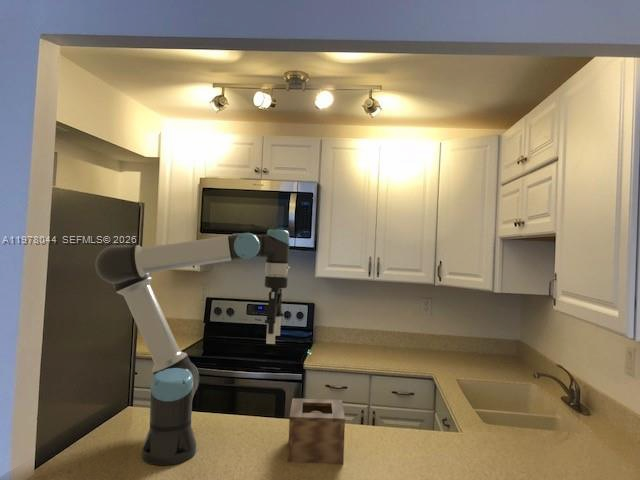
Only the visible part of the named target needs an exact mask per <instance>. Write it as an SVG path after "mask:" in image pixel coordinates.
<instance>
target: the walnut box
mask: <svg viewBox="0 0 640 480" xmlns="http://www.w3.org/2000/svg"><path fill="white" fill-rule="evenodd" d="M343 403H344V402H343V399H329V398H326V399H325V398H323V399H322V398H297V397H296V398H292V400H291V406H290V411H289V422H288V424H289V425H288V447H287V448H288V449H287V451H288V453H287V463H297V464H299V463H300V464H302V463H303V464H304V463H305V464H329V465H330V464H331V465H332V464H333V465H344V462H345V461H344V460H345V459H344V456H345V455H344V454H345V453H344V452H345V431H346V430H345V427H346V418H345V410H344V406H343ZM312 411H320V412H322V413H323V414H322V413H310V412H312Z"/></svg>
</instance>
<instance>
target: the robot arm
mask: <svg viewBox="0 0 640 480" xmlns="http://www.w3.org/2000/svg"><path fill="white" fill-rule="evenodd" d="M289 257H290V233H289V231H288V230H285V229H271V228H270V229H268V230H267V231H266V234H254V233H251V232H243V233H232V234H231V235H225V236H218V237H209V238H203V239H196V240H195V239H194V240H188V241H183V242H182V241H181V242H173V243H168V244H167V243H166V244H161V245H160V244H159V245H154V246H147V247H142V246H141V245H139V244H135V245H131V244H120V245H119V244H116V245H115V244H114V245H110V246H108V247H105V248H104V249H102V250H101V251H100V252H99V253H98V255H97V256H96V259H95V270H96V273H97V275H98V276H99V277H100V278H101V280H103V281H105V282H106V283H109V284H112V286H113V288H114V290H115V292H116V293H117V294H118V295H121V296H123V298H124V299H125V302H126V305H127V306H128V308H129V311H130V313H131V315H132V317H133V319H134V322H135V324H136V327H137V328H138V331H139V333H140V335H141V337H142V339H143V342H144V344H145V345H146V348H147V350H148V353H149V355H150V357H151V359H152V362H153V366H152V368H151V372H152V374H153V376H152V380H151V383H150V407H149V409H150V410H149V417H150V418H149V430H148V432H147V434H146V438H145V440H144V443H143V444H142V445H143V446H142V449H141V450H142V451H141V458H142V460H143V461H144V462H146V463H148V464H149V465H150V464H151V465H153V466H171V465H177V464H180V463H181V464H182V463H185V462H186V461H188V460H190V459H191V458H193V457H194V456H195V455H196V454H197V441H196V438H195V437H196V436H195V434H194V431H193V430H194V429H193V426H192V412H193V410H192V409H193V398H194V395H195V394H196V391H197V390H198V387H199V385H200V384H199V383H200V375H199V373H200V372H199V371H198V368H197V367H196V366H195V364H193V362H191V360H190V358H189V356H188V354H187V352H184V351H181V350H180V348H179V346H178V343H177V341H176V339H175V336H174V334H173V333H172V330H171V327H170V325H169V324H168V320H167V319H166V317H165V315H164V312H163V310H162V308H161V306H160V304H159V301H158V299H157V296H156V295H155V292H154V291H153V290H154V289H153V288H152V286H151V282H152V281H153V276H152V273H157V272H164V271H169V270H178V269H183V268H189V267H196V266H202V265H210V264H217V263H222V262H223V263H224V262H229V261H238V260H247V259H253V258H265V267H264V269H265V270H264V274H265V277H264V287H265V288H267V289H269V288H270V289H271V290H270V291H269V293H268V304H267V314H266V319H265V320H264V324H266V337H265V338H266V339H265V341H266V342H265V344H267V345H276V336H278V337H279V336H281V323H282V321H281V320H282V317H283V316H284V313H283V311H282V298H283V293H282V289H286V288H287V287H288V279H289V278H288V276H287V275H289V274H288V271H289V270H290V269H291V267H290V266H289Z"/></svg>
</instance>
